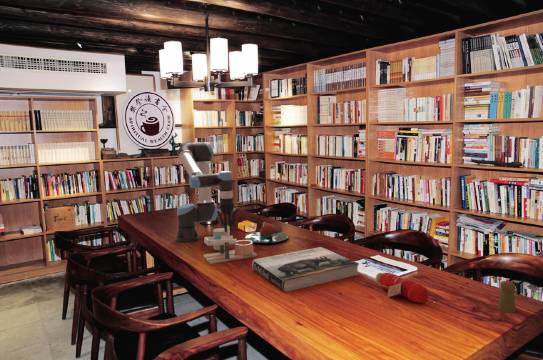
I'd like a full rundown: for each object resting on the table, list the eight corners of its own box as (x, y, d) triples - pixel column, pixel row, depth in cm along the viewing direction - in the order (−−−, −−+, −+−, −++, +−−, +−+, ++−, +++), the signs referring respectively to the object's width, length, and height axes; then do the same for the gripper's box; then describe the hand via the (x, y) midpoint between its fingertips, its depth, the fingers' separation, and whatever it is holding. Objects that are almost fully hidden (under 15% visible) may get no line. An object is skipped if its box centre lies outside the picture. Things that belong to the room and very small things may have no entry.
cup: (232, 251, 234) (232, 241, 233) (249, 249, 238) (248, 239, 237) (238, 256, 224) (237, 246, 223) (255, 253, 228) (255, 243, 228)
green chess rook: (494, 306, 157) (495, 279, 156) (508, 305, 158) (510, 278, 156) (504, 313, 151) (505, 285, 150) (519, 312, 152) (521, 284, 150)
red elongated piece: (410, 293, 155) (365, 274, 177) (412, 312, 157) (367, 291, 178) (430, 282, 161) (384, 265, 183) (432, 300, 163) (386, 281, 184)
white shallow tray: (201, 239, 231) (201, 234, 231) (228, 238, 238) (228, 233, 238) (207, 245, 217) (208, 240, 217) (236, 244, 224) (236, 239, 224)
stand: (203, 256, 229) (202, 239, 228) (247, 249, 240) (247, 233, 239) (210, 264, 216) (209, 246, 215) (257, 256, 227) (256, 239, 226)
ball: (214, 233, 224) (220, 234, 226) (212, 240, 224) (219, 241, 226) (216, 235, 221) (222, 236, 222) (214, 242, 221) (221, 242, 223)
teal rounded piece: (264, 248, 243) (263, 230, 242) (237, 239, 264) (236, 222, 263) (296, 239, 261) (296, 222, 260) (268, 231, 282) (268, 216, 281)
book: (282, 293, 176) (282, 280, 175) (252, 271, 205) (251, 259, 204) (359, 275, 195) (359, 263, 194) (321, 257, 224) (320, 246, 223)
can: (225, 250, 240) (225, 231, 238) (211, 250, 241) (210, 230, 240) (230, 246, 249) (229, 227, 247) (216, 245, 250) (215, 227, 249)
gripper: (217, 199, 226) (219, 240, 229) (239, 197, 231) (240, 237, 234) (213, 197, 233) (215, 237, 236) (235, 195, 238) (236, 234, 241)
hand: (228, 237), depth 235 cm, fingers closed
